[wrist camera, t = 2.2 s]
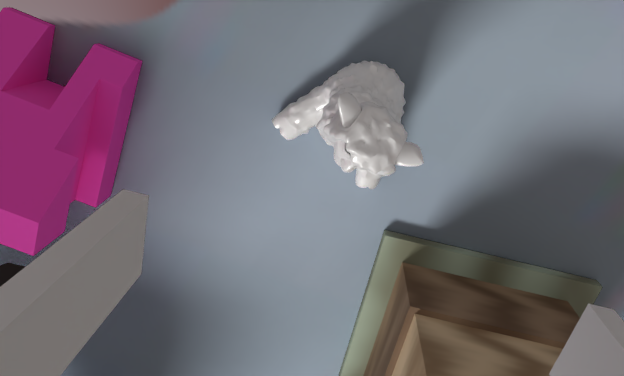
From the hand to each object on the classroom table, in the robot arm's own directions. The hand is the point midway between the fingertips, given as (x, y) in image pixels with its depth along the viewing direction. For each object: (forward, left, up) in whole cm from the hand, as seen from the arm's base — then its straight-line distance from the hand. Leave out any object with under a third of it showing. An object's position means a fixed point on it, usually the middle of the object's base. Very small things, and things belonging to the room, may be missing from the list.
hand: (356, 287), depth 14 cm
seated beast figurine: (0, 0, -23) cm, 23 cm away
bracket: (-23, -5, -23) cm, 33 cm away
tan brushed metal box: (+14, -18, -23) cm, 32 cm away
